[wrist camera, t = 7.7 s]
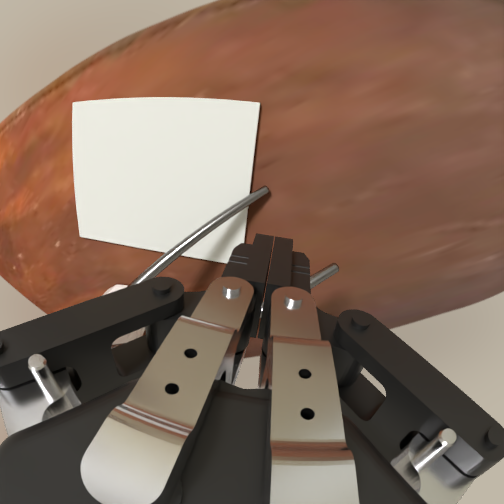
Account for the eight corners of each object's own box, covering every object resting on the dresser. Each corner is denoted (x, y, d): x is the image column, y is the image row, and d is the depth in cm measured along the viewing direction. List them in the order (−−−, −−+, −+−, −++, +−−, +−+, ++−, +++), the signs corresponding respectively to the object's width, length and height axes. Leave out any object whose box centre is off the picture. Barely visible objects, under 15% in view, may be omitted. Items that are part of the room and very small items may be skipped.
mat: (260, 102, 24) (259, 102, 24) (241, 263, 32) (241, 265, 31) (75, 102, 26) (72, 102, 25) (81, 235, 33) (80, 236, 33)
